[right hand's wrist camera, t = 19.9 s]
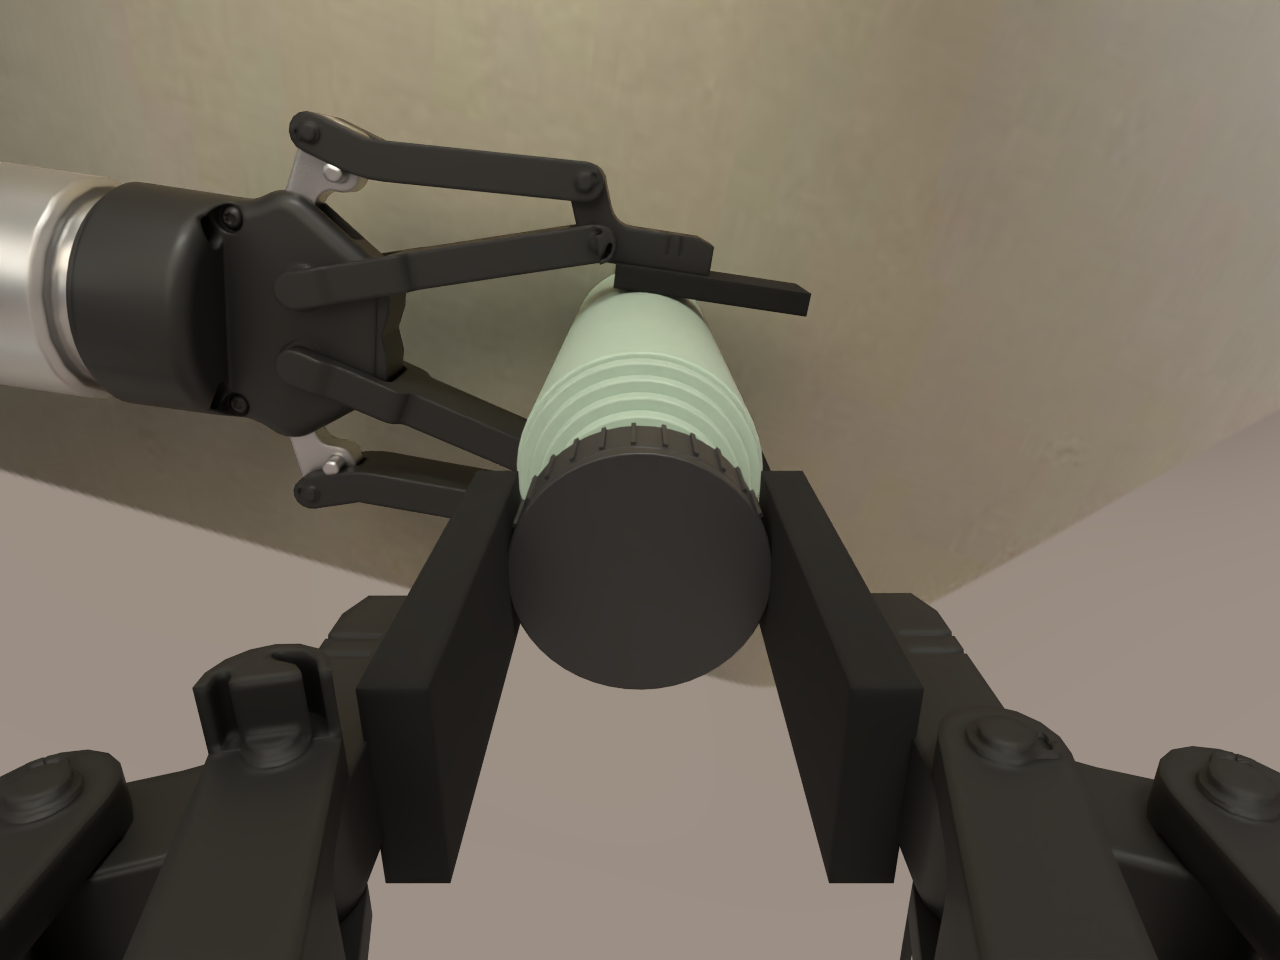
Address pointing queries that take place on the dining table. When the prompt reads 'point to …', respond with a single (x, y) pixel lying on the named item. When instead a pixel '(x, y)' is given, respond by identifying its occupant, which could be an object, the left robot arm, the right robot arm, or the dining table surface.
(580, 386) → the bottle
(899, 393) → the dining table surface
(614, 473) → the cap
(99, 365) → the left robot arm
